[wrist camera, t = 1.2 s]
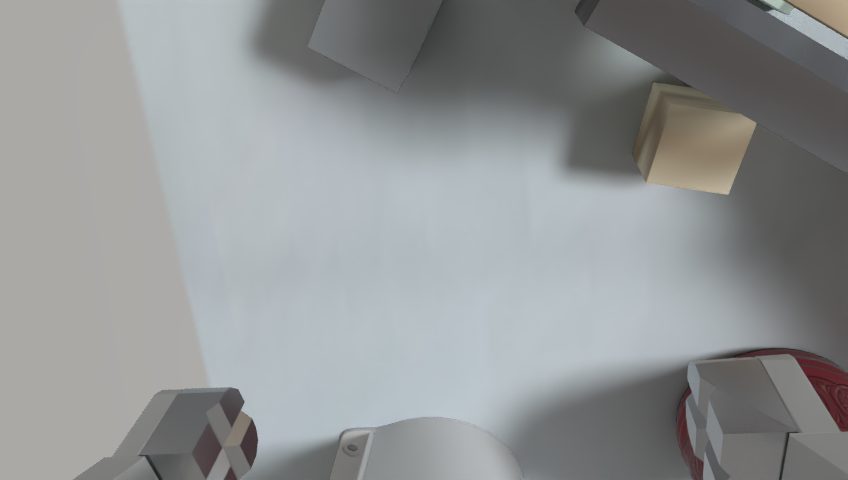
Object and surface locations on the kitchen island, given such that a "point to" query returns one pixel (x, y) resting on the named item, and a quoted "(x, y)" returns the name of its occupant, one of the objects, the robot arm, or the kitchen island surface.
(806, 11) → the trapdoor
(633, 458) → the kitchen island surface
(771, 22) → the frame
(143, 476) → the robot arm
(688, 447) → the canister
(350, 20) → the grey block
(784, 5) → the tray
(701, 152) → the beech block
